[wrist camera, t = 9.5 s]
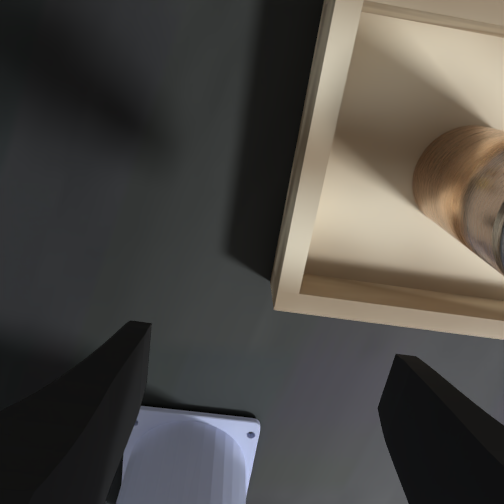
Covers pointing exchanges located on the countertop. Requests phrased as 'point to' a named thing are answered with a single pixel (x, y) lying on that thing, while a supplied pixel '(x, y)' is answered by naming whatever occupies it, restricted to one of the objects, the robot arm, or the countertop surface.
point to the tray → (389, 166)
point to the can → (465, 189)
